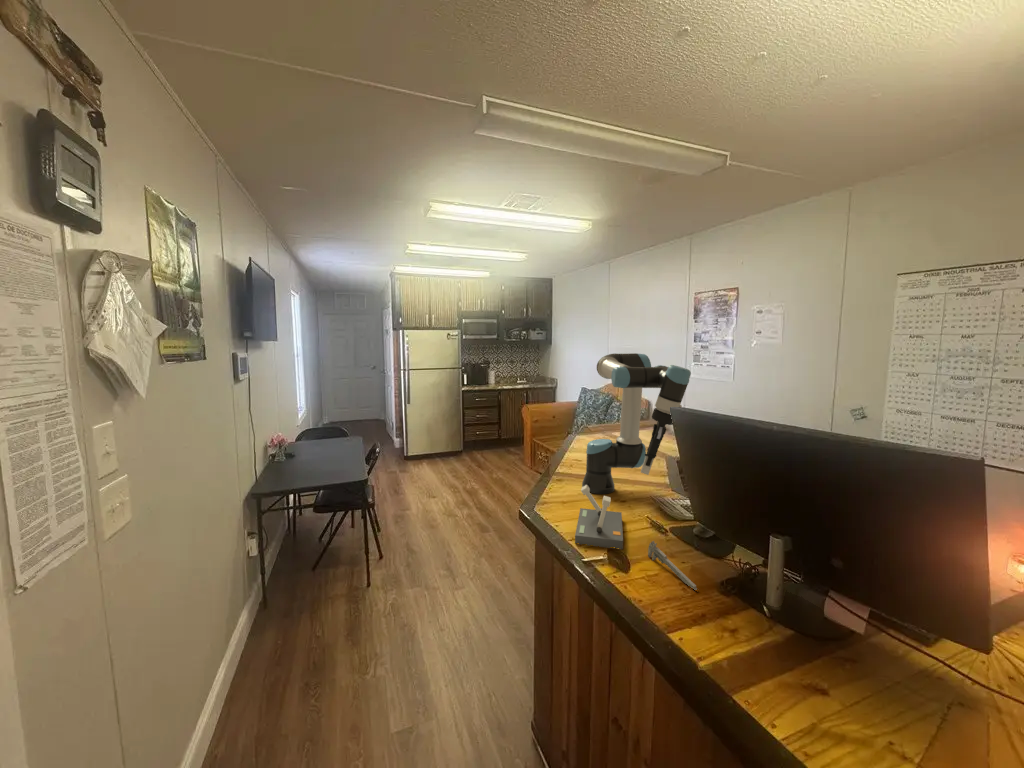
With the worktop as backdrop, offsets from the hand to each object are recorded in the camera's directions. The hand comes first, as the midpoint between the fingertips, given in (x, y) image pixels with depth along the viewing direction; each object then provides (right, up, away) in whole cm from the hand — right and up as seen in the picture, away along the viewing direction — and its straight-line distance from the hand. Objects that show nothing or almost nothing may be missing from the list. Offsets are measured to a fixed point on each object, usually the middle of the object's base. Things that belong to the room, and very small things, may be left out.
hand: (644, 472), depth 144 cm
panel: (-14, -23, +7) cm, 28 cm away
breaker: (-13, -18, +13) cm, 26 cm away
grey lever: (-16, -20, 0) cm, 25 cm away
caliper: (+2, -26, -20) cm, 33 cm away
